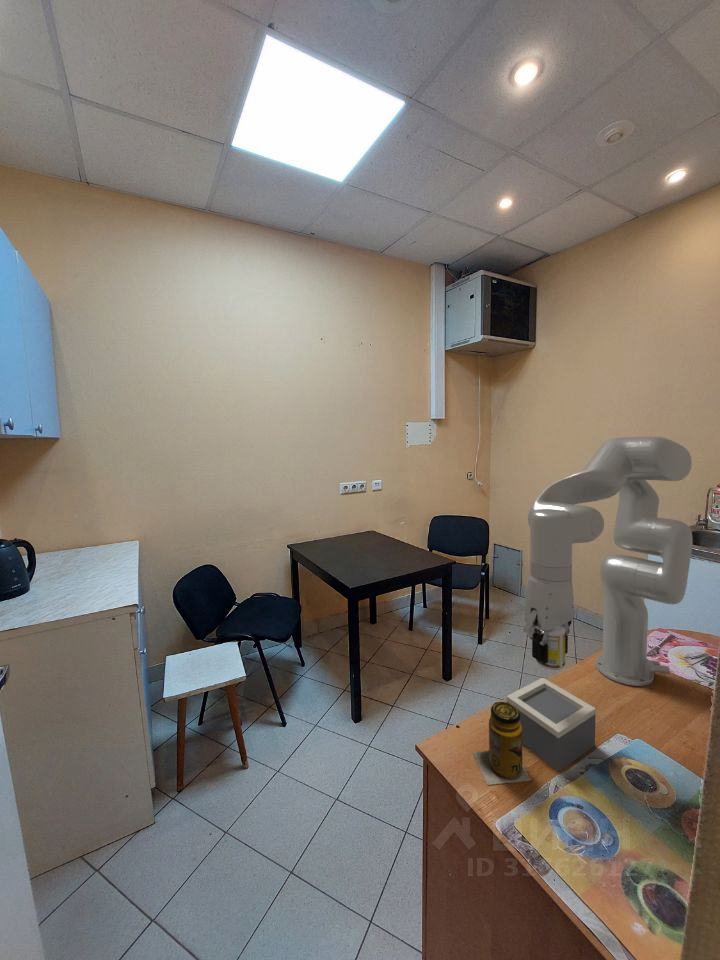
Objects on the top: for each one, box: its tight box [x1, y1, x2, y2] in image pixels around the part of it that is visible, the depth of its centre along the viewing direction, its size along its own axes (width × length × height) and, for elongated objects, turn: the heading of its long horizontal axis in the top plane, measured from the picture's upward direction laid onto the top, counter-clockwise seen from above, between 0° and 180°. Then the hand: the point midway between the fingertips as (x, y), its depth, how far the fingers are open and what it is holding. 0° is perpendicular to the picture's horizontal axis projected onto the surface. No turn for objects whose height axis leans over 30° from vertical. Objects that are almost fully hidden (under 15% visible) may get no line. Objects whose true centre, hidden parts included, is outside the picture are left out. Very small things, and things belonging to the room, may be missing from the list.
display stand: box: [506, 677, 597, 773], centre depth 80 cm, size 12×12×8 cm
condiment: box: [472, 701, 532, 786], centre depth 73 cm, size 7×8×12 cm
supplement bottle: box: [535, 623, 566, 671], centre depth 78 cm, size 6×6×10 cm
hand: (549, 654), depth 78 cm, fingers closed on supplement bottle, 5 cm apart
